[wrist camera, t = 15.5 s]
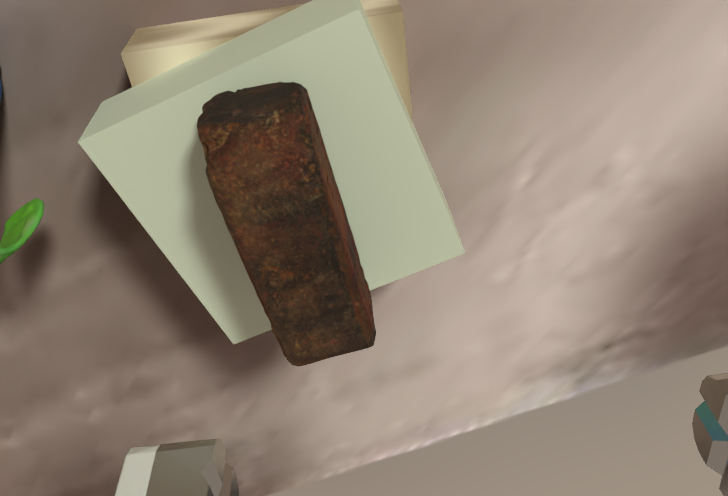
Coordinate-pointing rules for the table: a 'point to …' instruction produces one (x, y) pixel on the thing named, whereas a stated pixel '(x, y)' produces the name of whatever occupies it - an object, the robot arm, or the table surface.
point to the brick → (287, 219)
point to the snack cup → (20, 224)
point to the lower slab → (192, 38)
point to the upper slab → (341, 139)
